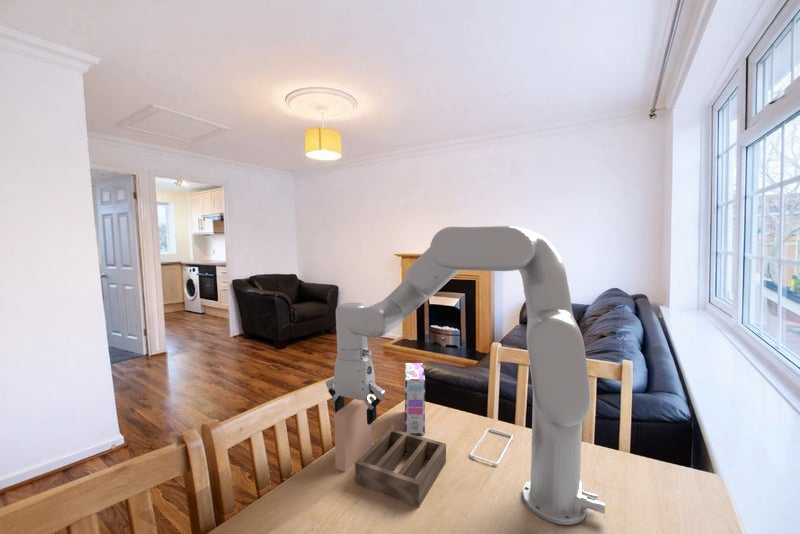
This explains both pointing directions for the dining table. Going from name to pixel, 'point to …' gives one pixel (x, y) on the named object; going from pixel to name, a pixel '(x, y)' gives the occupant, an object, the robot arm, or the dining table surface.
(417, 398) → the candy box
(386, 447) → the slotted box
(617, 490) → the dining table surface
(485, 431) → the phone case
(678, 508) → the dining table surface
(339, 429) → the pink block
